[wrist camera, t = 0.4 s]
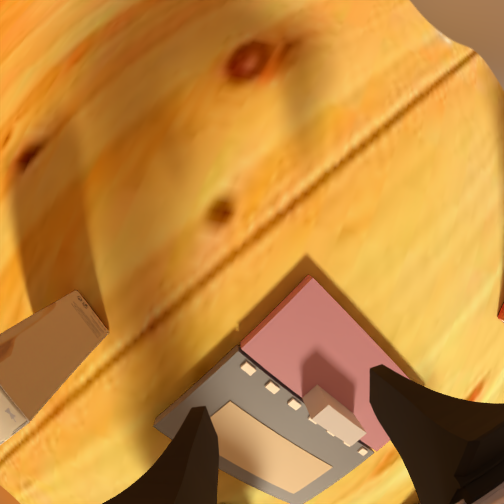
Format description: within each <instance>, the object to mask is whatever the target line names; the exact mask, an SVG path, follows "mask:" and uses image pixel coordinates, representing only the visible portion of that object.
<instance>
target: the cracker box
mask: <svg viewBox="0 0 504 504" xmlns="http://www.w3.org/2000/svg"><path fill="white" fill-rule="evenodd" d="M498 318H499V319H500V320H501V321H502V322H504V303H503V306H502V308H501V310H500V312H499V315H498Z"/></svg>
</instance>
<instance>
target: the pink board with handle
mask: <svg viewBox="0 0 504 504" xmlns="http://www.w3.org/2000/svg"><path fill="white" fill-rule="evenodd" d="M240 345H241V349H242V350H243V351H244V352H245V353H247V354H248V355H249V356H250V357H251V358H253V359H254V360H255V361H256V362H257V363H259V364H260V365H261V366H262V367H264V368H265V369H266V370H267V371H268V372H270V373H271V374H272V375H273V376H275V377H276V378H277V379H278V380H280V381H281V382H282V383H283V384H285V385H286V386H287V387H289V388H290V389H291V390H292V391H294V392H295V393H296V394H298V395H299V396H300V397H302V399H303V401H304V404H305V406H306V408H307V410H308V413H309V415H310V417H311V419H312V420H313V421H314V422H316V423H317V424H319V425H320V426H322V427H323V428H324V429H326V430H327V431H329V432H330V433H332V434H333V435H335V436H336V437H338V438H339V439H341V440H342V441H344V442H345V443H347V444H348V445H350V446H352V445H353V444H355V443H356V442H357V441H358V440H361V441H362V442H364V443H365V444H367V445H368V446H370V447H371V448H373V449H374V450H376V451H378V450H379V449H380V448H381V447H383V446H384V445H385V444H386V443H387V442H388V441H389V440H390V438H389V437H388V435H387V434H386V432H385V431H384V429H383V427H382V426H381V424H380V423H379V421H378V419H377V417H376V415H375V413H374V411H373V409H372V407H371V404H370V402H369V392H370V368H372V367H375V366H378V365H381V364H383V365H385V366H386V367H388V368H390V369H392V370H393V371H395V372H397V373H399V374H400V375H402V376H404V377H406V378H408V377H407V376H406V375H405V373H404V372H403V371H402V370H401V369H400V368H399V367H398V366H397V365H396V364H395V363H394V362H393V361H392V360H391V358H390V357H389V356H388V355H387V354H386V353H385V352H384V351H383V350H382V349H381V348H380V347H379V346H378V345H377V344H376V343H375V341H374V340H373V339H372V338H371V337H370V336H369V335H368V334H367V333H366V332H365V331H364V330H363V329H362V328H361V327H360V326H359V325H358V324H357V323H356V322H355V320H354V319H353V318H352V317H351V316H350V315H349V314H348V313H347V312H346V311H345V310H344V309H343V308H342V307H341V306H340V305H339V304H338V303H337V302H336V301H335V300H334V299H333V298H332V297H331V296H330V295H329V294H328V293H327V292H326V290H325V289H324V288H323V287H322V286H321V285H320V284H319V283H318V282H317V281H316V280H315V279H314V278H313V277H311V276H310V275H307V276H306V277H305V279H304V280H303V281H302V282H301V283H300V284H299V285H298V286H297V287H296V288H295V289H294V290H293V291H292V292H291V293H290V294H289V295H288V296H287V297H286V298H285V299H284V300H283V301H282V302H281V303H280V304H279V305H278V306H277V307H276V308H275V309H274V310H273V311H272V312H271V313H270V314H269V315H268V316H267V317H266V318H265V319H264V320H263V321H262V322H261V323H260V324H259V325H258V326H257V327H256V328H255V329H254V330H252V331H251V332H250V333H249V334H248V335H247V336H246V337H245V338H244V339H243V340H242V341H241V342H240ZM408 379H409V378H408Z"/></svg>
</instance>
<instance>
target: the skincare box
mask: <svg viewBox="0 0 504 504" xmlns="http://www.w3.org/2000/svg"><path fill="white" fill-rule="evenodd" d="M108 334H109V331H108V329H107V328H106V327H105V326H104V324H103V323H102V322H101V320H100V319H99V318H98V316H97V315H96V314H95V312H94V311H93V310H92V309H91V307H90V306H89V305H88V303H87V302H86V301H85V300H84V298H83V297H82V296H81V295H80V293H79V292H78V291H77V290H75V291H73V292H72V293H70V294H68V295H66V296H64V297H63V298H61V299H59V300H57V301H56V302H54V303H52V304H51V305H49V306H47V307H45V308H43V309H42V310H40V311H38V312H36V313H35V314H33V315H31V316H30V317H28V318H26V319H25V320H23V321H21V322H19V323H18V324H16V325H14V326H13V327H11V328H9V329H8V330H6V331H4V332H3V333H1V334H0V445H1V444H2V443H4V442H5V441H6V440H8V439H9V438H10V437H11V436H13V435H14V434H15V433H16V432H18V431H19V430H20V429H22V428H23V427H24V426H25V425H27V424H28V423H29V422H30V421H31V420H32V419H33V418H34V416H35V415H36V414H37V413H38V412H39V411H40V409H41V408H42V407H43V406H44V405H45V404H46V403H47V401H48V400H49V399H50V398H51V397H52V396H53V394H54V393H55V392H56V391H57V390H58V389H59V388H60V387H61V385H62V384H63V383H64V382H65V381H66V380H67V379H68V377H69V376H70V375H71V374H72V373H73V372H74V371H75V370H76V368H77V367H78V366H79V365H80V364H81V363H82V362H83V361H84V360H85V359H86V357H87V356H88V355H89V354H90V353H91V352H92V351H93V350H94V349H95V348H96V347H97V345H98V344H99V343H100V342H101V341H102V340H103V339H104V338H105V337H106V336H107V335H108Z"/></svg>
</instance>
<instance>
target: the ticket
mask: <svg viewBox="0 0 504 504" xmlns="http://www.w3.org/2000/svg"><path fill="white" fill-rule="evenodd" d="M199 406H206V408H207V411H208V413H209V416H210V418H211V421H212V424H213V426H214V428H215V431H216V433H217V436H218V445H219V469H220V470H222V471H224V472H226V473H228V474H229V475H231V476H233V477H235V478H237V479H239V480H241V481H243V482H245V483H247V484H249V485H251V486H253V487H255V488H257V489H259V490H261V491H263V492H265V493H267V494H269V495H272V496H274V497H276V498H278V499H281V500H283V501H285V502H288V503H290V504H304V503H305V502H307V501H308V500H310V499H312V498H313V497H315V496H316V495H318V494H319V493H321V492H322V491H324V490H325V489H327V488H328V487H330V486H331V485H333V484H334V483H335V482H337V481H338V480H340V479H341V478H342V477H344V476H345V475H346V474H348V473H349V472H350V471H352V470H353V469H354V468H356V467H357V466H358V465H360V464H361V463H362V462H363V461H365V460H366V459H367V458H368V457H370V456H371V455H372V454H373V453H374V452H373V450H372V449H371V447H370V446H368V445H367V444H365V443H364V442H362V441H361V440H358V441H357V442H356V443H355V444H353V445H352V446H350V445H348V444H347V443H345V442H344V441H342V440H341V439H339V438H338V437H336V436H335V435H333V434H332V433H330V432H329V431H327V430H326V429H324V428H323V427H322V426H320V425H319V424H317V423H316V422H314V421H313V420H312V419H311V417H310V415H309V413H308V410H307V408H306V406H305V404H304V401H303V399H302V397H300V396H299V395H298V394H296V393H295V392H294V391H292V390H291V389H290V388H289V387H287V386H286V385H285V384H283V383H282V382H281V381H280V380H278V379H277V378H276V377H275V376H273V375H272V374H271V373H270V372H268V371H267V370H266V369H265V368H264V367H262V366H261V365H260V364H259V363H257V362H256V361H255V360H254V359H253V358H251V357H250V356H249V355H248V354H247V353H245V352H244V351H243V350H242V349H241V347H240V346H238V345H236V346H235V347H234V348H233V349H232V350H231V351H230V352H229V353H228V354H227V355H226V356H225V357H224V358H222V359H221V360H220V361H219V362H218V363H217V364H216V365H215V366H214V367H213V368H212V369H211V370H210V371H208V372H207V373H206V374H205V375H204V376H203V377H202V378H201V379H200V380H199V381H198V382H196V383H195V384H194V385H193V386H192V387H191V388H190V389H189V390H188V391H186V392H185V393H184V394H183V395H182V396H181V397H180V398H179V399H177V400H176V401H175V402H174V403H173V404H172V405H171V406H169V407H168V408H167V409H166V410H165V411H164V412H163V413H161V414H160V415H159V416H158V417H157V418H156V419H155V422H154V426H153V427H155V428H156V429H157V430H159V431H160V432H162V433H163V434H164V435H166V436H167V437H169V438H170V439H172V440H173V438H174V437H175V435H176V433H177V432H178V430H179V429H180V427H181V425H182V423H183V422H184V420H185V418H186V416H187V415H188V413H189V411H190V409H191V408H192V407H199Z"/></svg>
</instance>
